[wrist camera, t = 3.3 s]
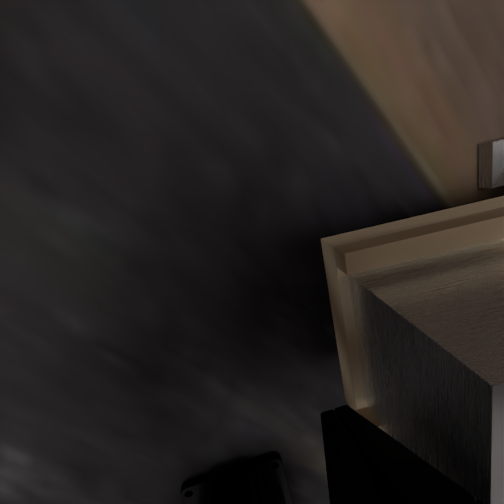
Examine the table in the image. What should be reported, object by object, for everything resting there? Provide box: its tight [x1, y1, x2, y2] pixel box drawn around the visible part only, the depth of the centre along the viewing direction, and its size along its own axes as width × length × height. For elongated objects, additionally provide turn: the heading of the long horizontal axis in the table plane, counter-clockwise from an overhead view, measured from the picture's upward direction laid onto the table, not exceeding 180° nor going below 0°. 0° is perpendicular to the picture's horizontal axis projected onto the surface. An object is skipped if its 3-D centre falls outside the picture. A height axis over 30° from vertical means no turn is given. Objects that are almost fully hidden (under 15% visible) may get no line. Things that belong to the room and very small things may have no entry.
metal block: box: [348, 239, 504, 504], centre depth 9 cm, size 6×6×6 cm
